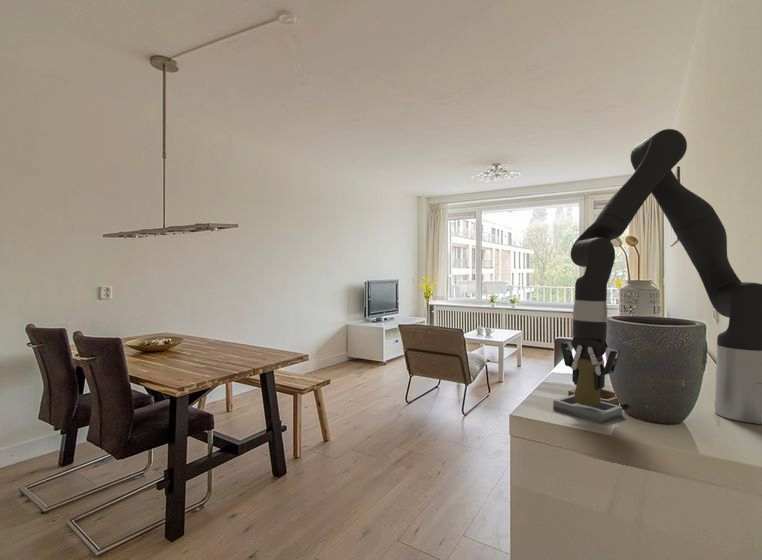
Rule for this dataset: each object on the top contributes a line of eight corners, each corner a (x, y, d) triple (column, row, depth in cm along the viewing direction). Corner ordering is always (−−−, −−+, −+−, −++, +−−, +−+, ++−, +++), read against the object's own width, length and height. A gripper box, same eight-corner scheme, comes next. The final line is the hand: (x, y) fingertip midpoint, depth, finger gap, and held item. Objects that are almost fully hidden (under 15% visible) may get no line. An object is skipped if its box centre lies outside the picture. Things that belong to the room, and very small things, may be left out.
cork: (605, 406, 96) (607, 361, 95) (580, 405, 96) (582, 360, 95) (593, 398, 102) (594, 356, 101) (569, 398, 102) (570, 355, 102)
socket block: (626, 404, 106) (626, 394, 106) (607, 410, 100) (608, 401, 100) (587, 394, 115) (588, 385, 115) (568, 399, 109) (568, 390, 109)
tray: (622, 416, 96) (622, 407, 96) (601, 423, 91) (602, 414, 91) (574, 402, 106) (574, 394, 106) (553, 408, 101) (553, 400, 101)
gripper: (628, 321, 95) (625, 392, 95) (570, 315, 106) (568, 378, 107) (612, 322, 90) (610, 397, 91) (554, 316, 102) (552, 382, 102)
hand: (587, 386), depth 99 cm, fingers closed on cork, 4 cm apart
